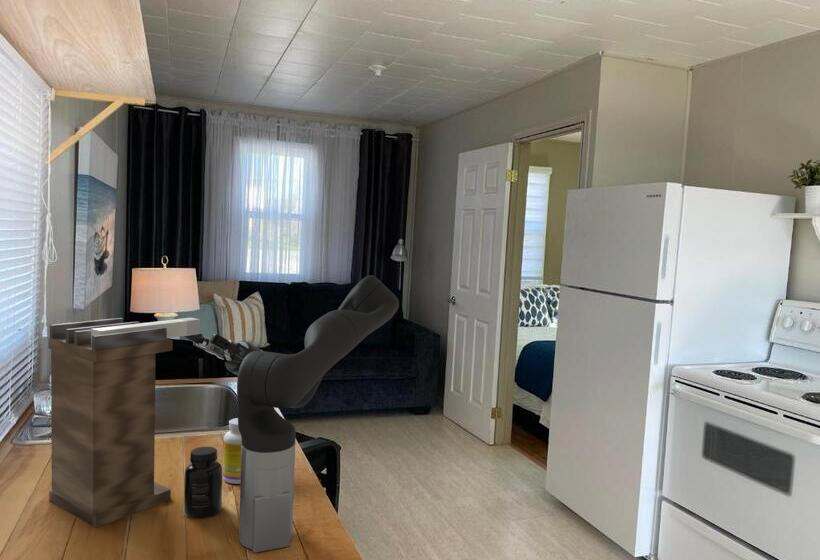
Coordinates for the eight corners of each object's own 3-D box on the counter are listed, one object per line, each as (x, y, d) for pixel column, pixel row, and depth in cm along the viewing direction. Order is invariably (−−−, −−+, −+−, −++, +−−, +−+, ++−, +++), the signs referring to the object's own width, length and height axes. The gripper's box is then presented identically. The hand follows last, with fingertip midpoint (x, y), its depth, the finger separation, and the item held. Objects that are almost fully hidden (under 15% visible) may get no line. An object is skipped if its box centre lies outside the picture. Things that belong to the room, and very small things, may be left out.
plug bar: (190, 332, 129) (190, 317, 128) (199, 334, 127) (199, 319, 127) (90, 345, 111) (90, 328, 111) (100, 347, 110) (100, 330, 109)
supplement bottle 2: (245, 486, 129) (247, 427, 128) (217, 482, 130) (218, 423, 129) (259, 474, 135) (261, 417, 134) (232, 470, 137) (233, 414, 136)
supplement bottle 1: (229, 508, 119) (230, 448, 118) (204, 523, 113) (205, 460, 112) (201, 500, 122) (202, 441, 121) (175, 514, 116) (176, 452, 114)
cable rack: (124, 475, 131) (125, 316, 128) (172, 498, 122) (174, 327, 119) (49, 500, 119) (48, 324, 116) (96, 527, 109) (96, 337, 106)
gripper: (237, 343, 146) (186, 315, 134) (278, 352, 138) (229, 323, 126) (223, 373, 144) (171, 346, 131) (265, 384, 136) (213, 357, 123)
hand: (199, 335), depth 129 cm, fingers open, 8 cm apart
